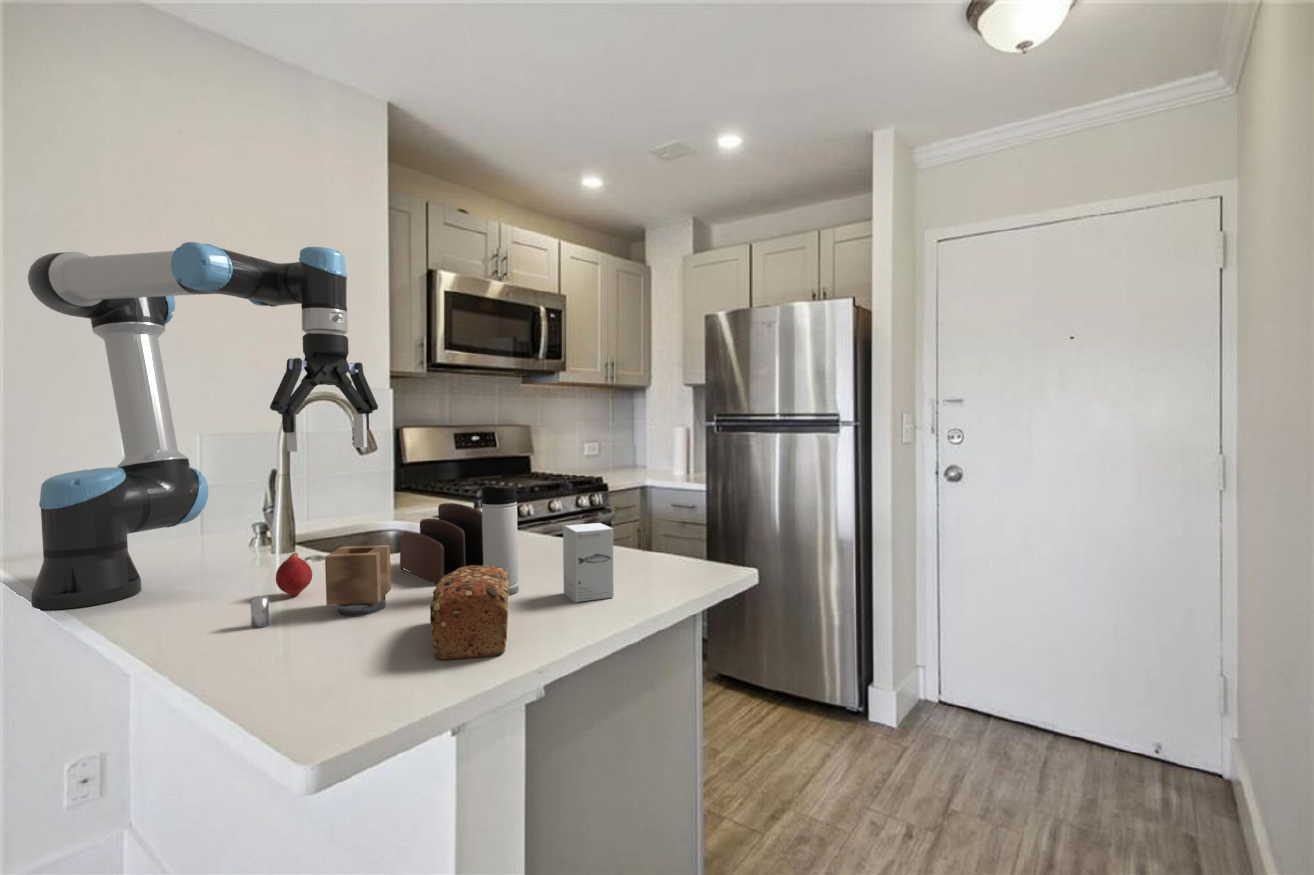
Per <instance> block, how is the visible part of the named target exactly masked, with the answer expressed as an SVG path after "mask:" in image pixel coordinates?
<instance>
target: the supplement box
mask: <svg viewBox="0 0 1314 875" xmlns="http://www.w3.org/2000/svg"><path fill="white" fill-rule="evenodd" d="M562 547H563V548H562V551H563V552H562V555H563V557H562V560H563V562H562V563H563V570H562V571H563V593H564V595H566V596H567V597H568V598H569V599H570V600H572V602H573V603H576V604H577V603H579V602H588V601H594V600H603V599H612V598H614V596H615V595H614V594H615V593H614V592H615V591H614V528H612V527H611V526H609V525H607V524H603V523H601V522H595V523H582V524H581V523H580V524H568V525H563V526H562Z"/></svg>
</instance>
